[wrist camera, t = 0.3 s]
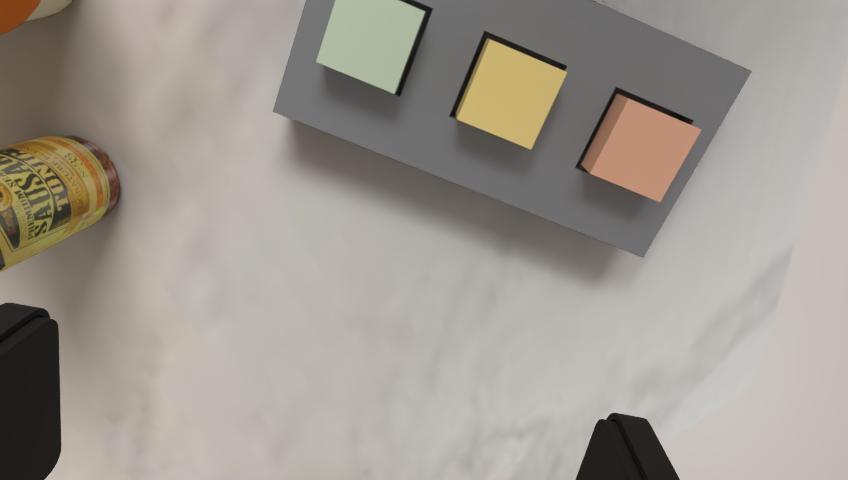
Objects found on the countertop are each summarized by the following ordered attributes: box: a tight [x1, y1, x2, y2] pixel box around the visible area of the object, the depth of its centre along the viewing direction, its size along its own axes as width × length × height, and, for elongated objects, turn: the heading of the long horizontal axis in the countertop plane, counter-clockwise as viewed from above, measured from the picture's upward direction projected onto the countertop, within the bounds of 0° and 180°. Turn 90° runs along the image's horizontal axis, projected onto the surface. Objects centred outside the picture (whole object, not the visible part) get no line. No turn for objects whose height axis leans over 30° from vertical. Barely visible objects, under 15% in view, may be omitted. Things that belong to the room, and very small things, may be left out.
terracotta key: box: [581, 94, 701, 202], centre depth 33 cm, size 4×4×2 cm
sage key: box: [316, 0, 426, 94], centre depth 31 cm, size 4×4×2 cm
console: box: [273, 0, 752, 257], centre depth 34 cm, size 12×24×4 cm, turn 68°
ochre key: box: [456, 38, 567, 149], centre depth 32 cm, size 4×4×2 cm
